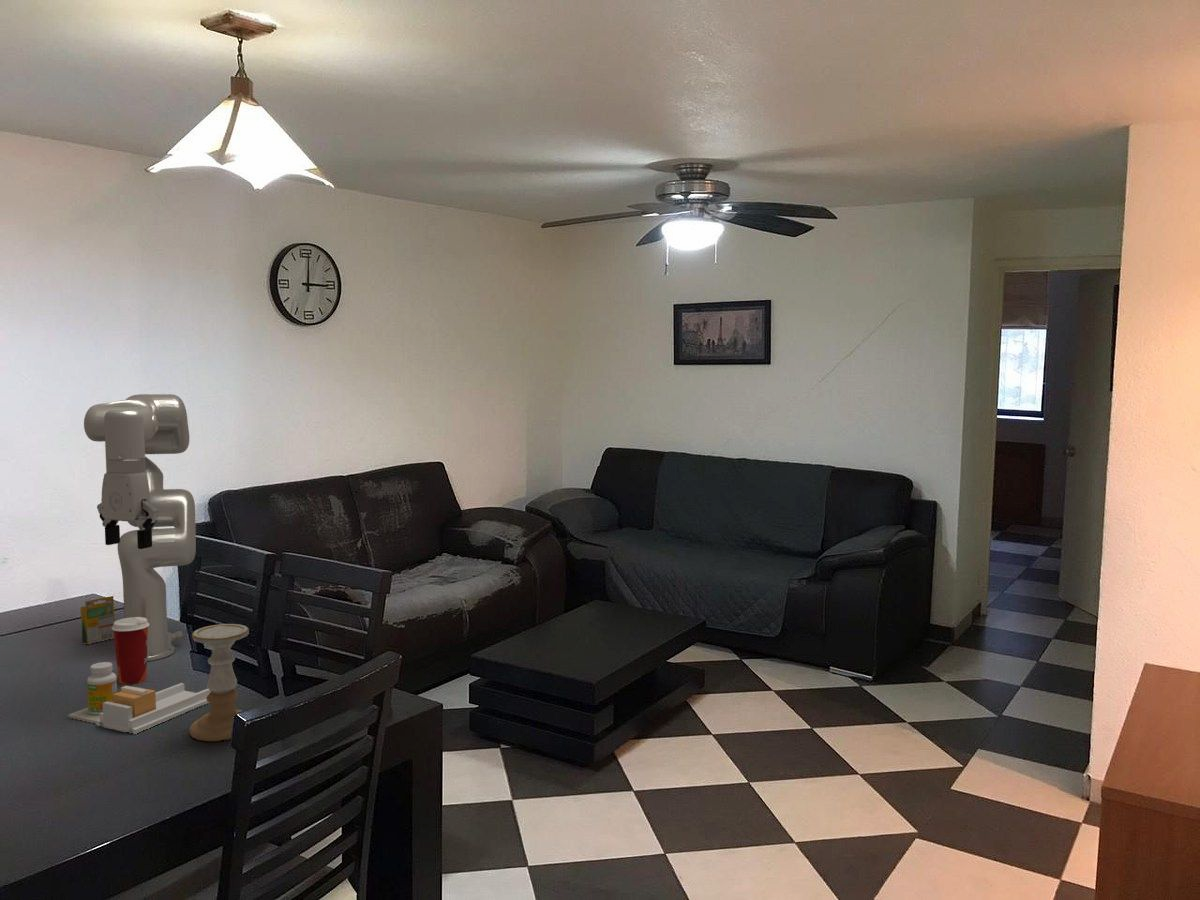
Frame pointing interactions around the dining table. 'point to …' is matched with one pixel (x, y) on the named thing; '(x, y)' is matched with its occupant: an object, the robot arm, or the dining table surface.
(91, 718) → the pad
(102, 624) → the crayon box
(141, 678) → the paper cup
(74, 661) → the dining table surface
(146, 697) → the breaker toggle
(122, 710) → the guard channel
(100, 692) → the supplement bottle
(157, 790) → the dining table surface
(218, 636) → the candle holder
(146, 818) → the dining table surface
